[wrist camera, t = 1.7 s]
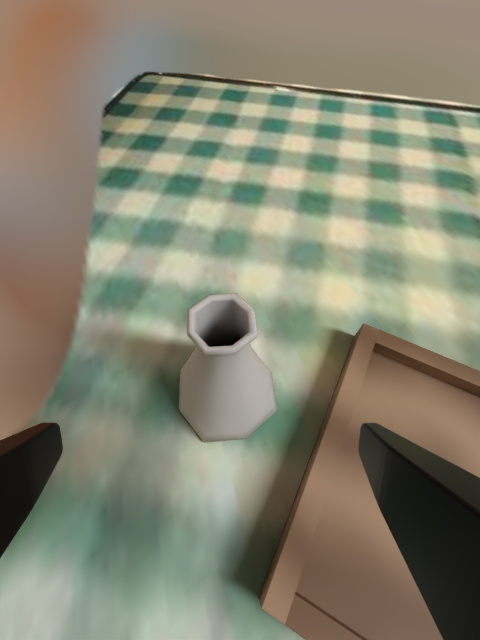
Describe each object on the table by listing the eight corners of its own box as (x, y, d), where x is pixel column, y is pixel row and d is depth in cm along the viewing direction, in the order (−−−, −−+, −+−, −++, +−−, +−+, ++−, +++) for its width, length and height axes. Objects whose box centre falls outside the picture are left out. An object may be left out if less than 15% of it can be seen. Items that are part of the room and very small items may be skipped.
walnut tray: (674, 886, 11) (750, 953, 10) (258, 596, 16) (261, 608, 14) (614, 446, 20) (649, 441, 18) (354, 335, 24) (363, 323, 22)
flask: (165, 366, 23) (123, 285, 14) (251, 334, 24) (260, 244, 16) (195, 462, 19) (164, 432, 11) (293, 418, 21) (334, 360, 12)
